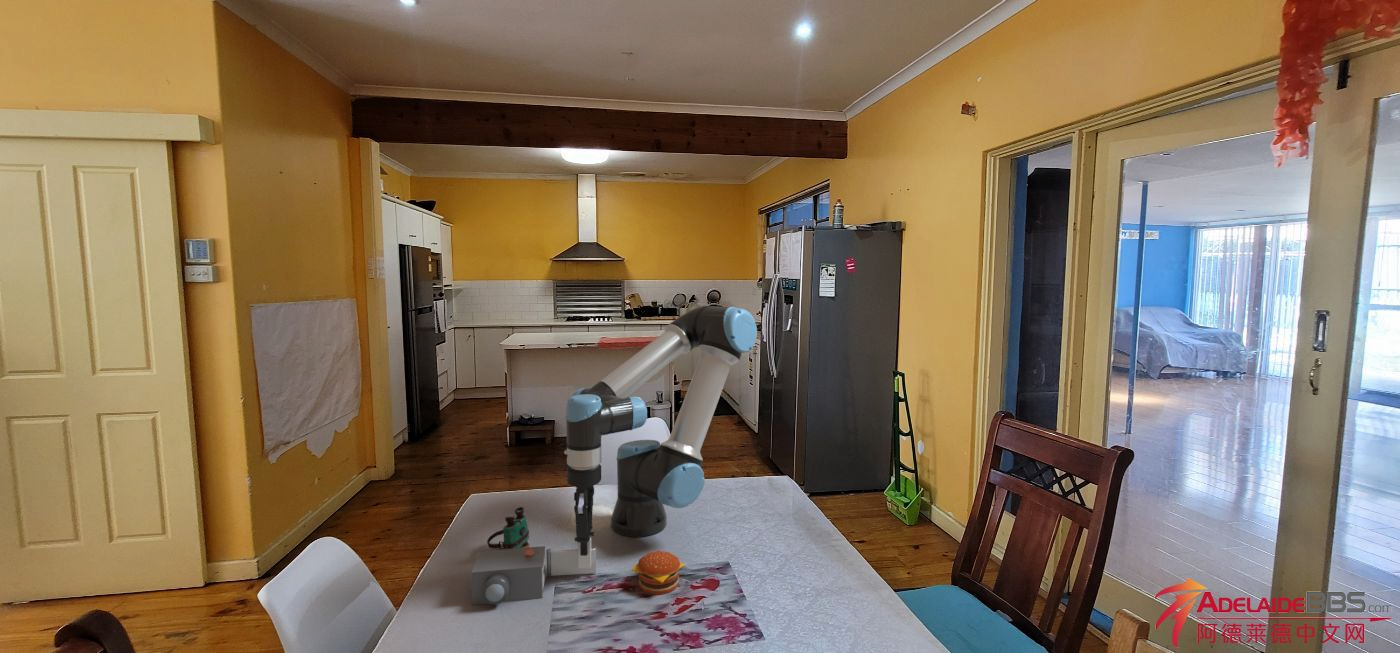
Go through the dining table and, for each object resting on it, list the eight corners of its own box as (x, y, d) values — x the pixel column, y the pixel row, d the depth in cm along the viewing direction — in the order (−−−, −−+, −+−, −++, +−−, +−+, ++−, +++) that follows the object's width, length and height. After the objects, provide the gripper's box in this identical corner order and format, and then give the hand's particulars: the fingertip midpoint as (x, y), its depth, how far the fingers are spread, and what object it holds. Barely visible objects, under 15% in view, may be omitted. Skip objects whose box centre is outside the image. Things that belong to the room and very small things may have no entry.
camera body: (546, 575, 128) (546, 542, 127) (542, 605, 116) (541, 569, 115) (480, 581, 125) (479, 547, 124) (469, 612, 113) (468, 575, 113)
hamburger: (629, 587, 123) (628, 558, 123) (655, 568, 131) (655, 541, 131) (663, 601, 118) (663, 570, 118) (688, 580, 126) (688, 552, 126)
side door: (547, 573, 128) (546, 548, 127) (596, 571, 129) (595, 546, 128) (546, 576, 127) (546, 551, 126) (595, 573, 128) (595, 548, 127)
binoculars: (496, 505, 142) (532, 505, 140) (501, 545, 143) (537, 545, 141) (475, 520, 134) (513, 520, 132) (481, 562, 134) (518, 563, 132)
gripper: (572, 455, 131) (573, 552, 133) (561, 474, 118) (562, 582, 120) (604, 455, 131) (604, 552, 133) (597, 474, 119) (598, 581, 121)
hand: (584, 566), depth 127 cm, fingers closed
